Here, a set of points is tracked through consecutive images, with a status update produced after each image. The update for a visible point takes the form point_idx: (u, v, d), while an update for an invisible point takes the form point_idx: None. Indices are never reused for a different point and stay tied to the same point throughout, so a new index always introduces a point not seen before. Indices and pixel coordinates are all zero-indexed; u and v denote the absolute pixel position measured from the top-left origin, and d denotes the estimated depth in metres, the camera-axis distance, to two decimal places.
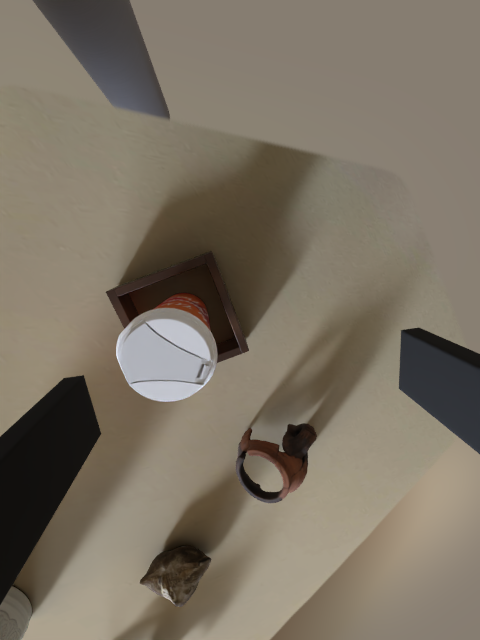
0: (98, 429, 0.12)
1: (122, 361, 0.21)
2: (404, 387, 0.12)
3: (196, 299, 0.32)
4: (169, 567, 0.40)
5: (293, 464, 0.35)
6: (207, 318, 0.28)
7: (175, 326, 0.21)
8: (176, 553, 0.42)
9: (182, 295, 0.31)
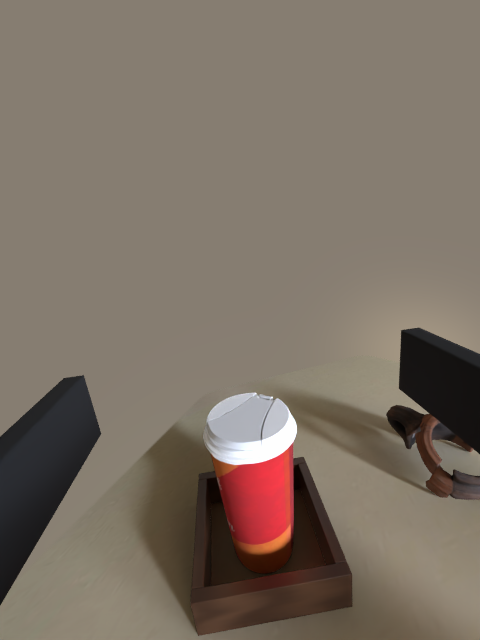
0: (98, 429, 0.12)
1: (235, 440, 0.21)
2: (404, 387, 0.12)
3: None
4: None
5: (430, 416, 0.32)
6: None
7: (219, 406, 0.25)
8: None
9: None
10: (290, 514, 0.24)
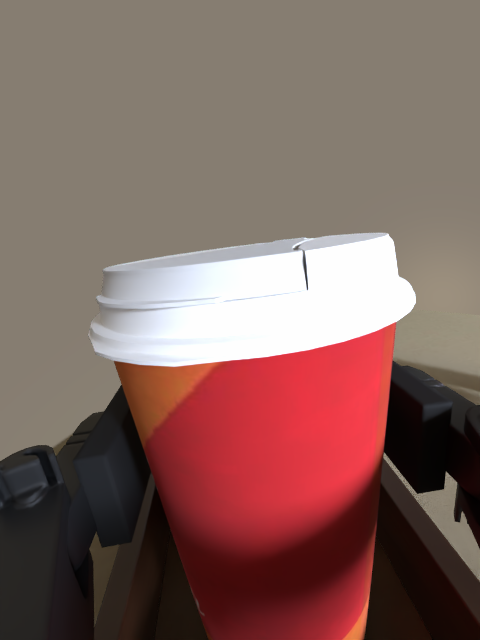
0: None
1: (180, 264, 0.04)
2: None
3: None
4: None
5: None
6: None
7: (162, 257, 0.09)
8: None
9: None
10: (372, 564, 0.08)
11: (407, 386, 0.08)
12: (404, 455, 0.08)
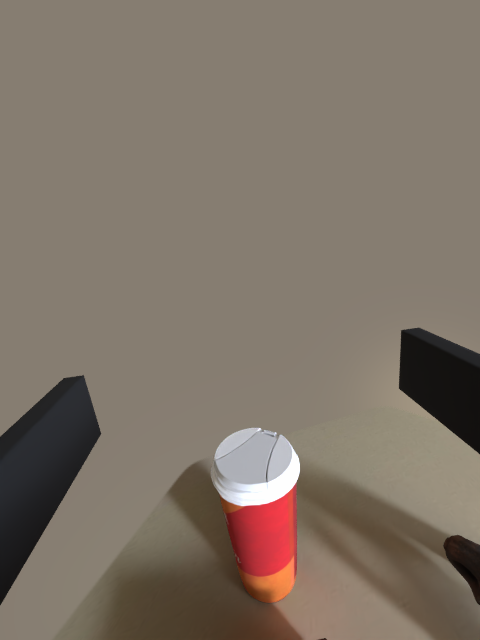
0: (98, 429, 0.12)
1: (242, 482, 0.22)
2: (404, 387, 0.12)
3: None
4: None
5: None
6: None
7: (226, 443, 0.26)
8: None
9: None
10: (293, 546, 0.25)
11: None
12: None
